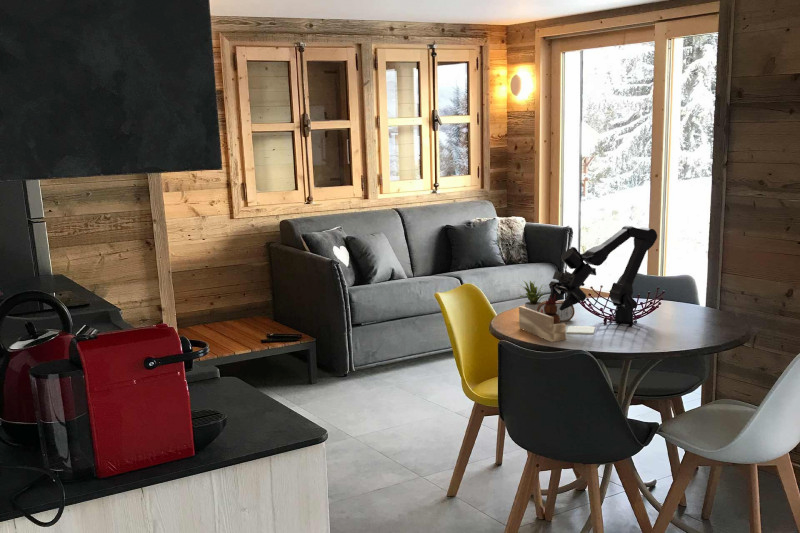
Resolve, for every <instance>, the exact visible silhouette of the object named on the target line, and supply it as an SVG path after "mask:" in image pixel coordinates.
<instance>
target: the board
mask: <svg viewBox="0 0 800 533" xmlns="http://www.w3.org/2000/svg"><path fill="white" fill-rule="evenodd" d="M595 331H596V327H595V326H583V325H581V326H579V325H577V326H575V325H568V328H567V331H566V335H568V334H571V335H572V334H573V335H594V334H595Z"/></svg>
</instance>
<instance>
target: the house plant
mask: <svg viewBox="0 0 800 533" xmlns="http://www.w3.org/2000/svg"><path fill="white" fill-rule="evenodd" d="M523 282H524V284H525V286H522V284H518V285H519V286H518V287H520V288H521V287H523V289H524V292H526V293H525V295H521V294H520V295H519V297H518V299H519V298H522V297H524V298H525V297H526V299H528V300H527V302H524V307H526V308H529V309H531V310H534V311H537V308H538V306H539V304H540V303H542V301H541V300H542V299H544V298H545V294H543V293H542V291H541V290H542V288H543V285H544V284H542V285H541V286H540V288H539V290H538V286H535V283H536V281H533V282H532V281H531V280H529V284H528V283H527V282H526V281H525V280H523ZM547 286H548V284H546V285H545V287H547ZM542 296H543V297H542ZM541 297H542V298H541ZM546 298H547V299H548V298H549V297H547V296H546Z"/></svg>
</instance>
